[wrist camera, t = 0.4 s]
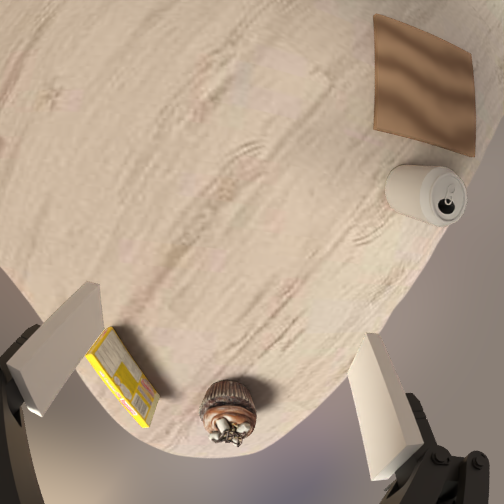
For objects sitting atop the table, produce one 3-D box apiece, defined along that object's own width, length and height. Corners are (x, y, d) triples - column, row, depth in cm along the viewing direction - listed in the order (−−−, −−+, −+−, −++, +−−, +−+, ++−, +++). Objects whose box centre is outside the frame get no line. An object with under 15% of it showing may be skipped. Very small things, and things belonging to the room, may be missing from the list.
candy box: (103, 329, 45) (83, 355, 37) (112, 325, 45) (93, 352, 37) (151, 398, 49) (141, 429, 41) (161, 396, 49) (151, 427, 41)
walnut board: (373, 16, 33) (376, 13, 32) (467, 55, 34) (471, 54, 33) (373, 129, 38) (376, 128, 37) (470, 157, 39) (474, 157, 38)
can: (378, 210, 41) (422, 225, 30) (385, 160, 39) (431, 160, 28) (418, 217, 42) (466, 233, 30) (425, 170, 40) (475, 174, 28)
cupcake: (258, 378, 48) (262, 419, 39) (251, 415, 51) (254, 455, 41) (202, 373, 48) (195, 414, 38) (200, 411, 50) (195, 451, 41)
